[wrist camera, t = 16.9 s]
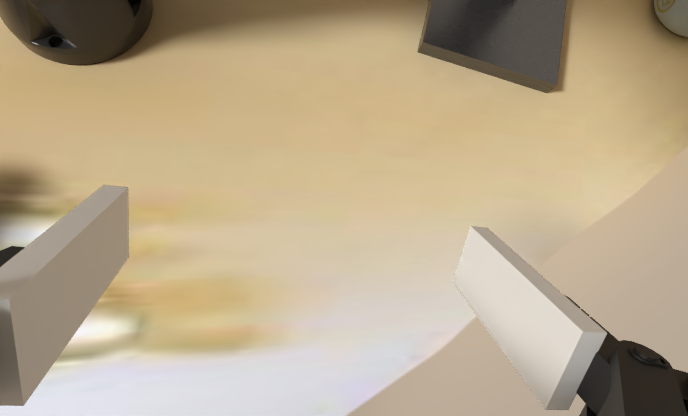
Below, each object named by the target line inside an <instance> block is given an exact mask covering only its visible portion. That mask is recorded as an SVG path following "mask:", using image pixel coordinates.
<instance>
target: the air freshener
mask: <svg viewBox="0 0 688 416" xmlns="http://www.w3.org/2000/svg"><path fill="white" fill-rule="evenodd" d="M654 8H655V12H656V14H657V16H658V18H659V20H660V21H661V23H662V24H663V25H664V26H665V27H666V28H668V29H669V30H670V31H672V32H674V33H676V34H678V35H680V36H684V37H688V0H654Z"/></svg>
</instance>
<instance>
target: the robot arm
mask: <svg viewBox="0 0 688 416" xmlns="http://www.w3.org/2000/svg"><path fill="white" fill-rule="evenodd" d="M151 14H152V0H0V17H1V18H2V20H3V22H4V23H5V24H6V26H7V27H8V28H9V30H10V31H11V32H12V33H13V34H14V35H15V36H16V37H17V38H18V39H19V40H20V41H21V42H22V43H23V44H24V45H25V46H26V47H27V48H29V49H30V50H31V51H33V52H34V53H36V54H38V55H40V56H42V57H44V58H46V59H49V60H52V61H55V62H59V63H64V64H74V65H82V64H93V63H98V62H102V61H106V60H109V59H111V58H114V57H116V56H118V55H120V54H122V53H123V52H125V51H127V50H128V49H129V48H131V47H132V46H133V45H134V44H135V43H136V42H137V41H138V40H139V39H140V38H141V37H142V35H143V34H144V32H145V31H146V29H147V27H148V25H149V22H150V19H151ZM128 258H129V214H128V187H120V186H111V185H103V186H102V187H100V188H99V189H98V190H97V191H95V192H94V193H93V194H92V195H90V196H89V197H88V198H87V199H85V200H84V201H83V202H82V203H80V204H79V205H78V206H77V207H75V208H74V209H73V210H72V211H70V212H69V213H68V214H67V215H65V216H64V217H63V218H61V219H60V220H59V221H58V222H56V223H55V224H54V225H53V226H51V227H50V228H49V229H48V230H46V231H45V232H44V233H43V234H41V235H40V236H39V237H38V238H36V239H35V240H34V241H33V242H31V243H30V244H29V245H28V246H26V247H15V246H11V247H9V248H6V249H4V250H1V251H0V405H12V406H24V404H25V403H26V402H27V400H28V399H29V397H30V396H31V395H32V393H33V392H34V390H35V389H36V387H37V386H38V385H39V383H40V382H41V380H42V379H43V378H44V376H45V375H46V373H47V372H48V371H49V369H50V368H51V366H52V365H53V363H54V362H55V361H56V359H57V358H58V356H59V355H60V354H61V352H62V351H63V349H64V348H65V347H66V345H67V344H68V342H69V341H70V340H71V338H72V337H73V335H74V334H75V332H76V331H77V330H78V328H79V327H80V325H81V324H82V323H83V321H84V320H85V318H86V317H87V316H88V314H89V313H90V311H91V310H92V308H93V307H94V306H95V304H96V303H97V301H98V300H99V299H100V297H101V296H102V294H103V293H104V292H105V290H106V289H107V287H108V286H109V285H110V283H111V282H112V280H113V279H114V277H115V276H116V275H117V273H118V272H119V270H120V269H121V268H122V266H123V265H124V263H125V262H126V261H127V259H128ZM453 284H454V285H455V287H456V288H457V290H458V291H459V292H460V294H461V295H462V296H463V298H464V299H465V300H466V302H467V303H468V305H469V306H470V307H471V309H472V310H473V311H474V313H475V314H476V315H477V317H478V318H479V320H480V321H481V322H482V323H483V325H484V326H485V328H486V329H487V331H488V332H489V333H490V334H491V336H492V337H493V339H494V340H495V341H496V343H497V344H498V345H499V347H500V348H501V350H502V351H503V352H504V354H505V355H506V356H507V358H508V359H509V361H510V362H511V363H512V365H513V366H514V367H515V369H516V370H517V371H518V373H519V374H520V376H521V377H522V378H523V380H524V381H525V382H526V384H527V385H528V387H529V388H530V389H531V390H532V392H533V393H534V395H535V396H536V397H537V399H538V400H539V402H540V403H541V404H542V406H543V407H544V408H545V409H546V410H569V408H570V406H571V404H572V402H573V400H574V398H575V396H576V394H578V395H579V396H580V397H581V398H582V399H583V401H584V402H585V403H586V404H585V407H584V408H583V410H582V412H581V414H580V416H688V373H686V372H683V371H679V370H675V369H673V368H672V367H671V365H670V363H669V362H668V361H667V360H666V359H664V358H663V357H662V356H661V355H659V354H658V353H656V352H655V351H653V350H651V349H649V348H647V347H645V346H643V345H641V344H638V343H635V342H632V341H625V340H623V341H618V340H617V339H616V338H615V337H614V336H612V335H611V334H610V333H609V332H608V331H607V330H605V329H604V328H603V327H602V326H601V325H600V324H599V323H597V322H596V321H595V320H594V319H593V318H592V317H589V315H588V314H587V313H586V312H585V311H584V310H582V309H580V307H579V306H578V305H577V304H576V303H574V302H573V301H572V300H571V299H570V298H569V297H567V296H565V295H564V294H562V293H561V292H560V291H559V290H558V289H556V288H555V287H554V286H553V285H552V284H551V283H550V282H548V281H547V280H546V279H545V278H544V277H543V276H542V275H541V274H539V273H538V272H537V271H536V270H535V269H534V268H533V267H531V266H530V265H529V264H528V263H527V262H526V261H525V260H523V259H522V258H521V257H520V256H519V255H518V254H517V253H515V252H514V251H513V250H512V249H511V248H510V247H509V246H507V245H506V244H505V243H504V242H503V241H502V240H501V239H499V238H498V237H497V236H496V235H495V234H494V233H493V232H491V231H490V230H489V229H488V228H484V227H475V226H471V227H470V230H469V233H468V236H467V239H466V243H465V246H464V249H463V252H462V255H461V258H460V261H459V264H458V267H457V271H456V274H455V277H454V280H453Z"/></svg>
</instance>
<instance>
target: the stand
mask: <svg viewBox="0 0 688 416" xmlns="http://www.w3.org/2000/svg"><path fill="white" fill-rule="evenodd" d="M566 1H567V0H429V5H428V9H427V13H426V17H425V22H424V26H423V30H422V35H421V39H420V43H419V48H418V52H419V53H422V54H425V55H429V56H432V57H435V58H438V59H441V60H444V61H447V62H451V63H454V64H457V65H460V66H463V67H466V68H470V69H473V70H476V71H479V72H482V73H485V74H488V75H492V76H495V77H498V78H501V79H504V80H507V81H511V82H514V83H517V84H520V85H523V86H526V87H529V88H533V89H536V90H539V91H542V92H545V93H547V92H549V91H550V90H551V89H552V88H553V87H555V86H556V85H557V78H558V70H559V61H560V53H561V44H562V35H563V27H564V18H565V10H566Z"/></svg>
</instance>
